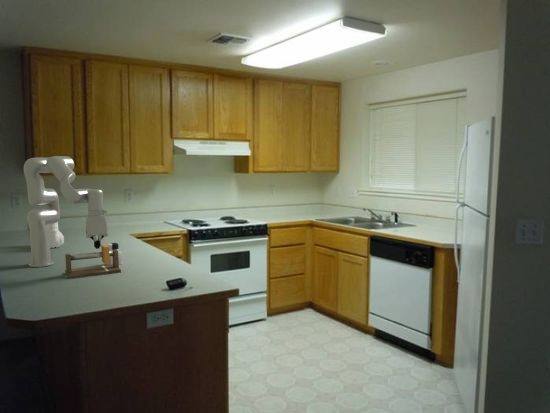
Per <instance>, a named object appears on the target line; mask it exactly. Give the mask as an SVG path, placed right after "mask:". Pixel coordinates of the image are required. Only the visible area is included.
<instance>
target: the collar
mask: <svg viewBox="0 0 550 413" xmlns="http://www.w3.org/2000/svg"><path fill="white" fill-rule="evenodd" d="M103 251H104V258H103V257H101V262H102V263H103V264H104V265H105V264H110V254H109V246H108V245H107V244H105V243H103V244H101V251H100V252H103Z"/></svg>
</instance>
